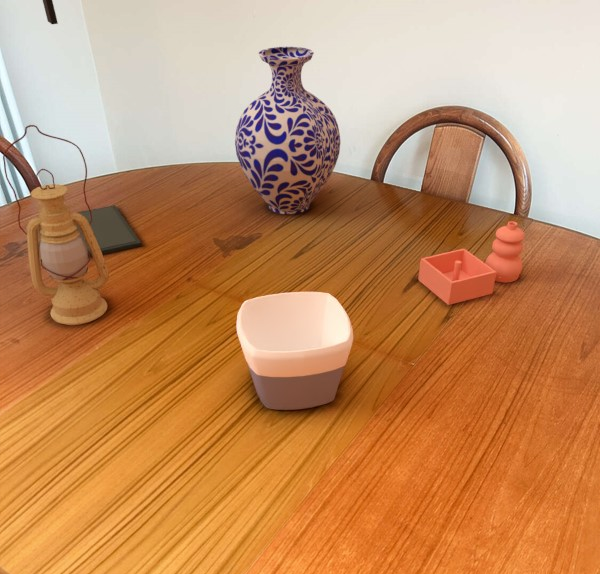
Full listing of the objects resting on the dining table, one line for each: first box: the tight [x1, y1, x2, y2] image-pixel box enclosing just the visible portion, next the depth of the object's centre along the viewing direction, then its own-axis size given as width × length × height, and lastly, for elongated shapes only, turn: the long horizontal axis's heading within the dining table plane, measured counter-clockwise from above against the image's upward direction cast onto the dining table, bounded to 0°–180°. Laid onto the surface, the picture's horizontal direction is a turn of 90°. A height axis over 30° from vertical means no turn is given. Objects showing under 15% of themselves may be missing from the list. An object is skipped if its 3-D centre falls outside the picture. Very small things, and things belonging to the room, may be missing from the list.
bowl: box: [235, 291, 354, 411], centre depth 90 cm, size 15×15×11 cm
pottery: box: [417, 221, 525, 306], centre depth 114 cm, size 18×10×10 cm, turn 114°
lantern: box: [2, 124, 110, 326], centre depth 101 cm, size 12×10×30 cm
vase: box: [234, 46, 341, 215], centre depth 133 cm, size 22×22×30 cm
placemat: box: [74, 204, 143, 259], centre depth 132 cm, size 16×20×1 cm
